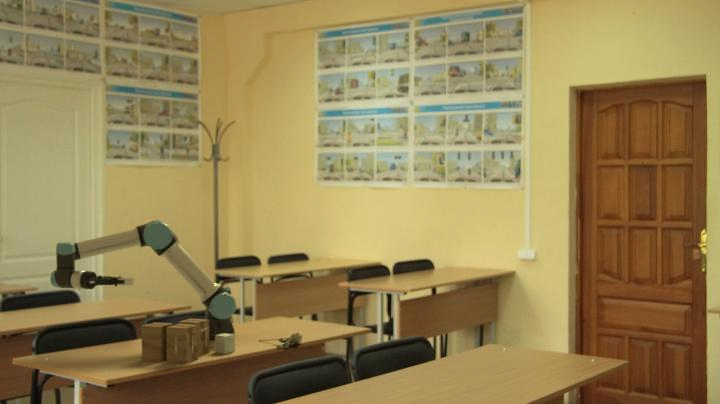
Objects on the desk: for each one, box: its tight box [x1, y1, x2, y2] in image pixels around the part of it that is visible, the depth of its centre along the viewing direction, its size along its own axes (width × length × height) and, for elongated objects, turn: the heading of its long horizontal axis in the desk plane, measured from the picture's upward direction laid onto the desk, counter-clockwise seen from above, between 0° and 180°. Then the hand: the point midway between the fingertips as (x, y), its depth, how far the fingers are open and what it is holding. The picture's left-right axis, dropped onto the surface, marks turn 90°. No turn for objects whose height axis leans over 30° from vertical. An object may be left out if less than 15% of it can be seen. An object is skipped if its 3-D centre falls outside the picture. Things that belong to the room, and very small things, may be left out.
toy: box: [258, 332, 303, 350], centre depth 400 cm, size 29×5×15 cm
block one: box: [166, 323, 199, 365], centre depth 364 cm, size 9×9×14 cm
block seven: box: [178, 318, 210, 358], centre depth 378 cm, size 9×9×14 cm
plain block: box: [141, 321, 174, 363], centre depth 368 cm, size 9×9×14 cm
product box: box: [214, 333, 236, 355], centre depth 383 cm, size 6×6×7 cm
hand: (132, 281), depth 378 cm, fingers closed
